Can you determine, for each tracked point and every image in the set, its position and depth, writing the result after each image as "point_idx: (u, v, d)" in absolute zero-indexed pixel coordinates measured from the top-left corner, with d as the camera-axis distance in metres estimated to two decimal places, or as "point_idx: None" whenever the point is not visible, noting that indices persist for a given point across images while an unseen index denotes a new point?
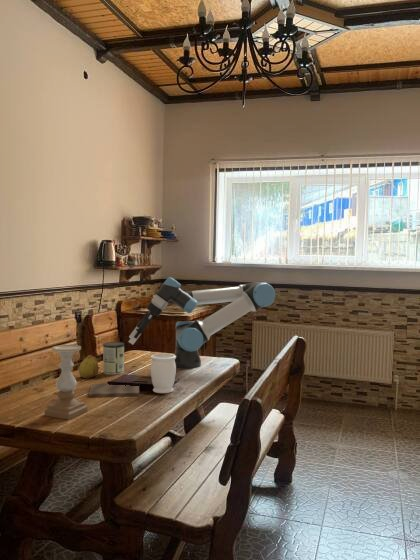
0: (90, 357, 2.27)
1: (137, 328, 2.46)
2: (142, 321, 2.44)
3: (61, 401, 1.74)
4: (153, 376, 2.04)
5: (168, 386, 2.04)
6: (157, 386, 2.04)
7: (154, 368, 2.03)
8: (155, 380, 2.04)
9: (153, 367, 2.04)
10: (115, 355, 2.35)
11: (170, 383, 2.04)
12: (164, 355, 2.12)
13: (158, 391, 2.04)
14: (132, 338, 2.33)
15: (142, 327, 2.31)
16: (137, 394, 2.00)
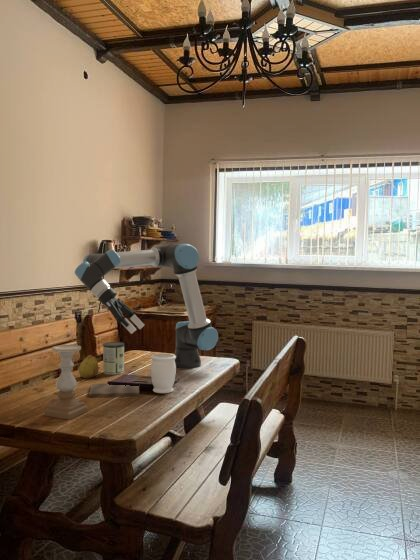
0: (90, 357, 2.27)
1: (132, 317, 2.14)
2: (123, 311, 2.12)
3: (61, 401, 1.74)
4: (153, 376, 2.04)
5: (168, 386, 2.04)
6: (157, 386, 2.04)
7: (154, 368, 2.03)
8: (155, 380, 2.04)
9: (153, 367, 2.04)
10: (115, 355, 2.35)
11: (170, 383, 2.04)
12: (164, 355, 2.12)
13: (158, 391, 2.04)
14: (128, 328, 2.01)
15: (116, 315, 1.99)
16: (137, 394, 2.00)
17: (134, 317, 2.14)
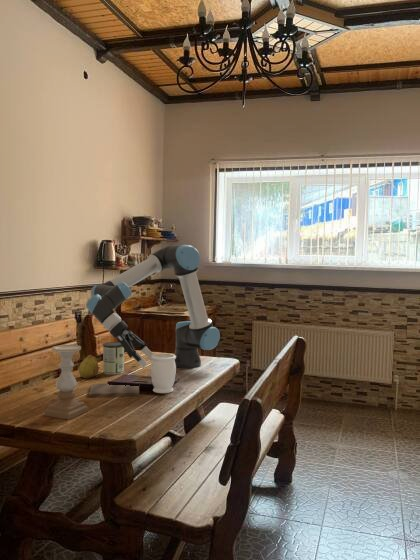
0: (90, 357, 2.27)
1: (143, 349, 2.14)
2: (134, 343, 2.12)
3: (61, 401, 1.74)
4: (153, 376, 2.04)
5: (168, 386, 2.04)
6: (157, 386, 2.04)
7: (154, 368, 2.03)
8: (155, 380, 2.04)
9: (153, 367, 2.04)
10: (115, 355, 2.35)
11: (170, 383, 2.04)
12: (164, 355, 2.12)
13: (158, 391, 2.04)
14: (140, 363, 2.00)
15: (127, 350, 1.98)
16: (137, 394, 2.00)
17: (145, 349, 2.13)
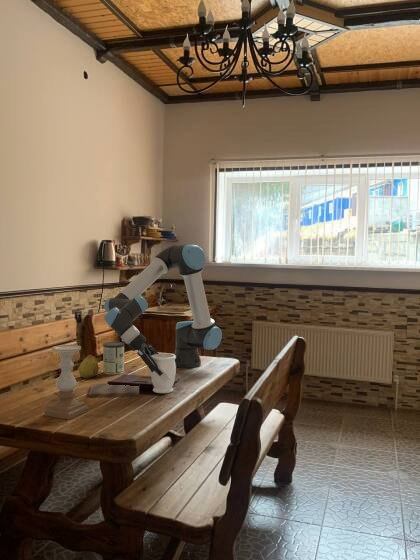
0: (90, 357, 2.27)
1: None
2: None
3: (61, 401, 1.74)
4: (153, 376, 2.04)
5: (168, 386, 2.04)
6: (157, 386, 2.04)
7: None
8: (155, 380, 2.04)
9: None
10: (115, 355, 2.35)
11: (170, 383, 2.04)
12: (164, 355, 2.12)
13: (158, 391, 2.04)
14: (162, 377, 2.01)
15: (149, 365, 1.99)
16: (137, 394, 2.00)
17: None
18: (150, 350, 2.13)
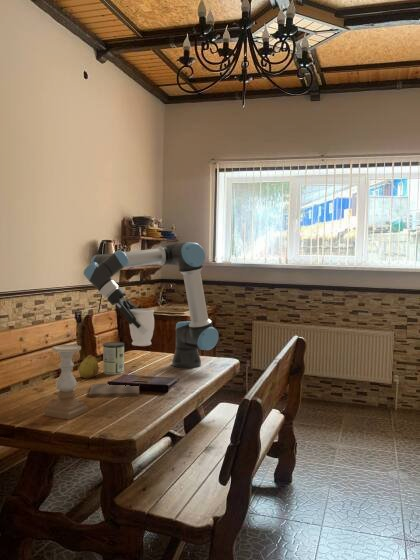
0: (90, 357, 2.27)
1: None
2: None
3: (61, 401, 1.74)
4: (131, 329, 2.07)
5: (146, 339, 2.07)
6: (135, 339, 2.07)
7: None
8: (133, 333, 2.06)
9: None
10: (115, 355, 2.35)
11: (148, 336, 2.07)
12: (143, 310, 2.14)
13: (136, 344, 2.07)
14: (140, 329, 2.04)
15: (127, 317, 2.02)
16: (137, 394, 2.00)
17: None
18: None
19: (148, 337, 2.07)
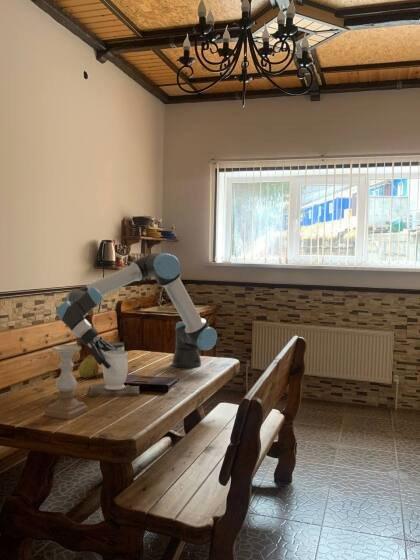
0: (90, 357, 2.27)
1: None
2: (105, 350, 2.10)
3: (61, 401, 1.74)
4: (104, 373, 2.03)
5: (119, 383, 2.03)
6: (108, 383, 2.03)
7: None
8: (106, 377, 2.03)
9: None
10: None
11: (121, 380, 2.04)
12: (117, 352, 2.11)
13: (109, 388, 2.03)
14: (110, 370, 1.99)
15: (97, 357, 1.97)
16: (137, 394, 2.00)
17: None
18: None
19: (121, 381, 2.04)
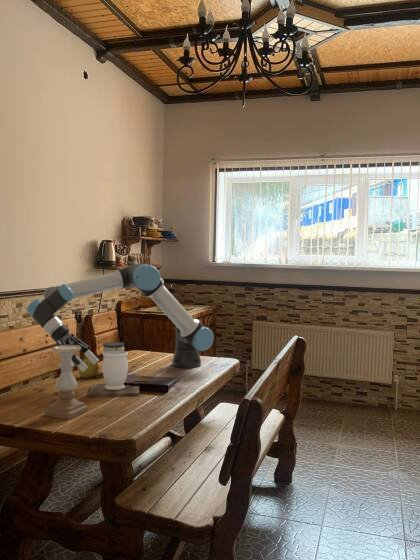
0: None
1: (86, 353, 2.15)
2: None
3: (61, 401, 1.74)
4: (104, 373, 2.03)
5: (119, 383, 2.03)
6: (108, 383, 2.03)
7: (105, 365, 2.03)
8: (106, 377, 2.03)
9: (104, 364, 2.03)
10: None
11: (121, 380, 2.04)
12: (117, 352, 2.11)
13: (109, 388, 2.03)
14: (79, 366, 2.01)
15: None
16: (137, 394, 2.00)
17: (88, 352, 2.14)
18: None
19: (121, 381, 2.04)
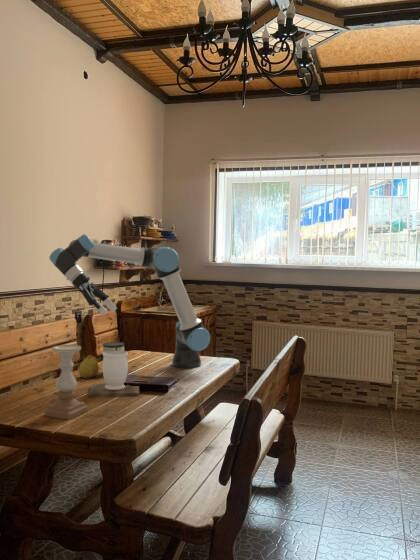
0: (90, 357, 2.27)
1: (105, 301, 2.26)
2: (96, 295, 2.24)
3: (61, 401, 1.74)
4: (104, 373, 2.03)
5: (119, 383, 2.03)
6: (108, 383, 2.03)
7: (105, 365, 2.02)
8: (106, 377, 2.03)
9: (104, 364, 2.03)
10: None
11: (121, 380, 2.04)
12: (117, 352, 2.11)
13: (109, 388, 2.03)
14: (100, 310, 2.12)
15: (88, 298, 2.10)
16: (137, 394, 2.00)
17: (107, 301, 2.25)
18: None
19: (121, 381, 2.04)
